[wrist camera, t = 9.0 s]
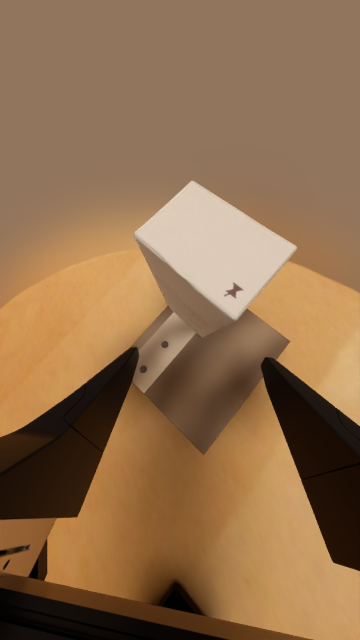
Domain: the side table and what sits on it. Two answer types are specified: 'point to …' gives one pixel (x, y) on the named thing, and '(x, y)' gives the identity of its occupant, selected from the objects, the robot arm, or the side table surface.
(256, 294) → the skincare box
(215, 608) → the side table surface
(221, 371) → the bent metal bracket plate
